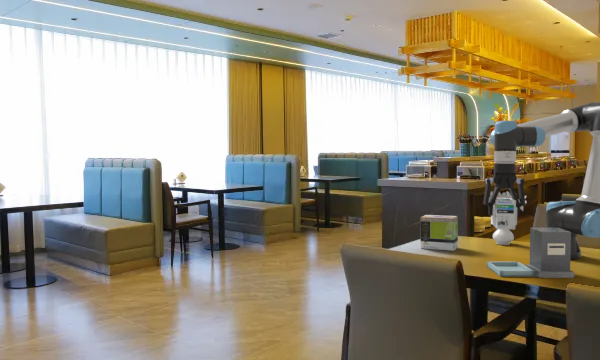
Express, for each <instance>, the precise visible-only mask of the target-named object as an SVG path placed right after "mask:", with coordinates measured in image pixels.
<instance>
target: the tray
mask: <svg viewBox="0 0 600 360" xmlns="http://www.w3.org/2000/svg"><path fill="white" fill-rule="evenodd" d="M486 268H488V269H489V270H490V271H492V272H493V273H495V274H496V275H497V276H498V277H500V278H501V277H511V278H512V277H514V278H515V277H520V278H521V277H523V278H524V277H527V278H530V277H532V278H533V277H534V278H535V277H536V276H535V271H534V270H532V269H530V268H528V267H527V266H526V264H523V263H522V262H519V261H486Z"/></svg>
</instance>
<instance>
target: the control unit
mask: <svg viewBox="0 0 600 360" xmlns="http://www.w3.org/2000/svg"><path fill="white" fill-rule="evenodd" d="M529 233H530V234H529V238H530V239H529V264H525V266H527V267H528V268H530V269H532V270H534V271H535V277H538V278H540V279H543V278H544V279H545V278H546V279H563V278H564V279H574V278H575V271H572V270H571V259H570V255H571V232H569V231H566V230H563V229H561V228H546V227H530V230H529Z"/></svg>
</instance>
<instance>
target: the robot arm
mask: <svg viewBox="0 0 600 360" xmlns="http://www.w3.org/2000/svg"><path fill="white" fill-rule="evenodd" d="M491 131H492V132H491V133H490V136H489V139H490V143H491V144H492V145H493V147H494V151H493V152H494V154H493V155H494V156H493V162H495V163H494V164H493V176H492V177H490V178H485V179H484V183H485V188H484V195H483V201H482V203H483V205H484V206H487V209H488V211H487V213H488V216H490V224H491V225H493V226H494V225H495V207H493V205H494V203H495V200H496V198H497V196H498V193H499V192H501V190H502V189H504V188H505V189H507V190H508V192H509V193H510V195H511V196H512V199H513V200H516V220H515V226H517V225H518V216H520V213H521V211H520V210H521V209H520V207H521V206H523V207H524V206H526V204H525V201H526V198H525V196H526V195H525V188H524V184H525V178H519V177H517V173H516V172H517V169H516V168H517V164H516V163H515V162H516V161H517V147H521V148H523V147H529V148H530V147H532V148H535V147H540V146H543V144H544V143H545V141H546V137H549V136H553V135H557V134H560V133H565V132H566V133H568V134H570V133H571V134H572V133H575V132H589V133H590V135H591V136H592V137H593V138H592V143H591V147H590V151H589V157H588V162H587V166H586V172H585V174H584V175H585V176H584V180H583V185H582V186H583V187H582V190H581V195H580V196H579V197H578V198H576V199H575V200H567V201H566V200H565V201H549V202H547V203H546V210H545V228H561V229H563V230H566V231H569V232H571V255H570V260H577V259H581V257H582V251H581V248H580V244H579V241H578V238H577V235H579V236H584V237H586V238H587V237H588V238H594V239H596V238H597V239H599V238H600V101H594V102H589V103H584V104H581V105H579V106H575V107H571V108H569V109H566V110H563V111H561V113H558V114H555V115H551V116H546V117H542V118H538V119H535V120H531V121H527V122H523V123H518V124H517V121H516V120H498V121H496V122H495V125H494V129H493V130H491ZM493 182H494V184H495V186H494V189H493V191H492V192H493V194H492V196H491V199H490V201H489V197H490V193H491V189H492V188H491V187H492V184H493ZM515 183H516V184H517V190H518V195H516V194H517V193H516V190H515V185H514V184H515ZM518 199H519V200H520V202H519V200H518Z"/></svg>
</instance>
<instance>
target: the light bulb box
mask: <svg viewBox="0 0 600 360" xmlns="http://www.w3.org/2000/svg"><path fill="white" fill-rule="evenodd" d="M493 207H495V225H493V227H494V228H495V229H496V230H497V229H509V230H516V225H515V220H516V200H513V199H511V198H496V200H495V203H494V205H493Z"/></svg>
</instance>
